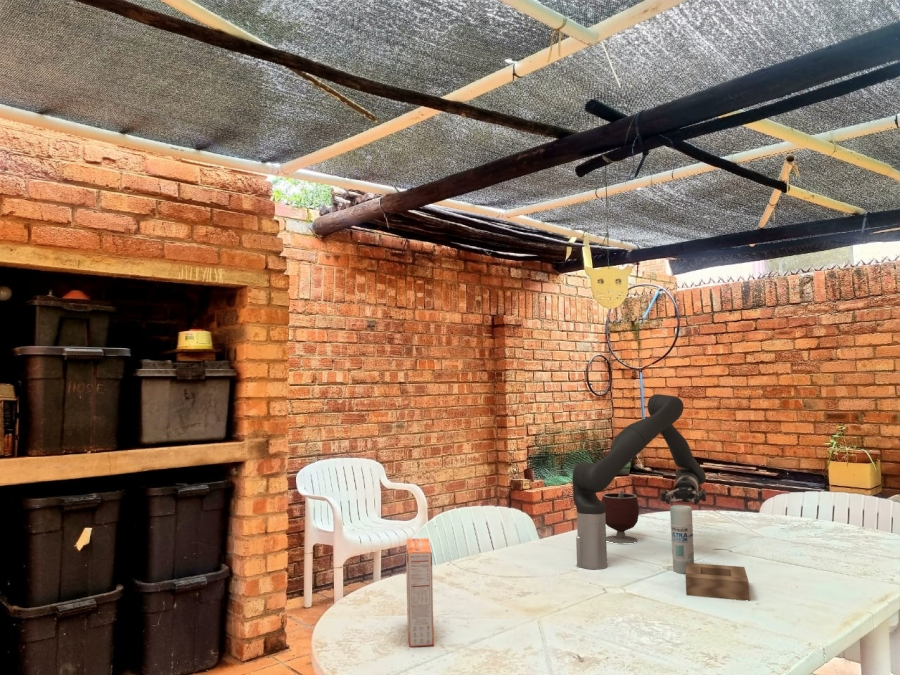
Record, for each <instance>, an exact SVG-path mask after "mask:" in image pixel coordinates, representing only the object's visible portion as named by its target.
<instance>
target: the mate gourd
mask: <svg viewBox="0 0 900 675" xmlns="http://www.w3.org/2000/svg"><path fill="white" fill-rule="evenodd" d="M601 501H602V502H603V503H604V505H605V518H606V527H608V528H611V529H613V530H614V531H616V534H615V535H610V536H606V541H609V542H613V543H634V542H637V541H638V540H639V539H638V538H636V537H634V536H628V535H626V533H625V532H626V531H628V530H630V529H634V528H635V526H636V524H637V523H638V521H639V513H640V512H639V511H640V510H639V508H640V507H639V501H638V497H637V495H636V494H633V493H627V492H624V491H623V490H621V491H620V492H607V493H603V494H602V497H601ZM609 542H608V543H609ZM638 542H639V541H638ZM638 542H637V543H638ZM613 543H612V544H613ZM634 544H635V543H634Z"/></svg>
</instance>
